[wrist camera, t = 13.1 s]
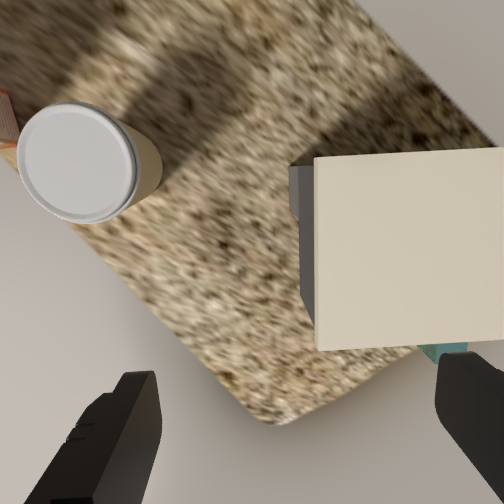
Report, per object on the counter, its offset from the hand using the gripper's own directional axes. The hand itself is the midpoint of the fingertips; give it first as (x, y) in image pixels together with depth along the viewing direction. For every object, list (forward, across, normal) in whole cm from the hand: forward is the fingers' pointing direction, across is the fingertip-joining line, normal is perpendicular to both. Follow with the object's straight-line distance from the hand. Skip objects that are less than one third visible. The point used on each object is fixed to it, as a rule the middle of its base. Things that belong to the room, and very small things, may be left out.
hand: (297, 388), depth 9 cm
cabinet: (+30, -12, 0) cm, 32 cm away
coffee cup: (+30, +14, -7) cm, 34 cm away
